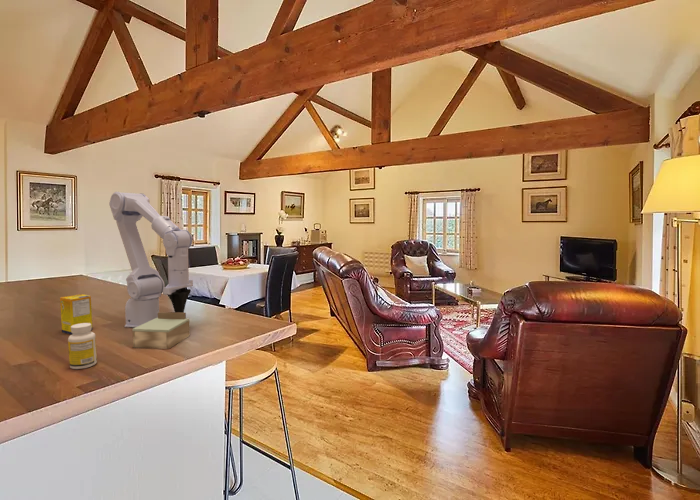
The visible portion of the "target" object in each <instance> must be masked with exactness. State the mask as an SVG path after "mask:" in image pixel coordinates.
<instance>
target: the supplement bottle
mask: <svg viewBox="0 0 700 500" xmlns="http://www.w3.org/2000/svg"><path fill="white" fill-rule="evenodd" d="M92 328H93V326H92V327H91V323H80V324H75V325H72V326H71V333H73V334H72V335H71V334H69V336H68V338H67V345H68V346H67V347H68V361H69V363H68V364H69V367H70V369H72V370H81V369H82V370H83V369H87V368H90V367H93V366H95V365H96V364H97V361H98V355H97V354H98V353H97V338H96V333H95V332H93V331H92V330H93V329H92Z"/></svg>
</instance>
